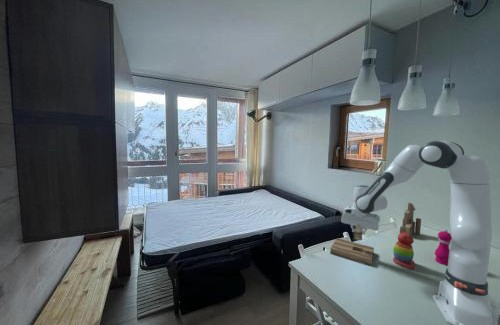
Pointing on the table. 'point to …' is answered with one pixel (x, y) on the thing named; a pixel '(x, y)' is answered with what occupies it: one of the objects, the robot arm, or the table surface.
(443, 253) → the pepper mill
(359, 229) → the peg
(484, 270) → the robot arm
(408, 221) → the wooden toy
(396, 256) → the stacking bear
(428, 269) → the table surface
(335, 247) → the board
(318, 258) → the table surface
